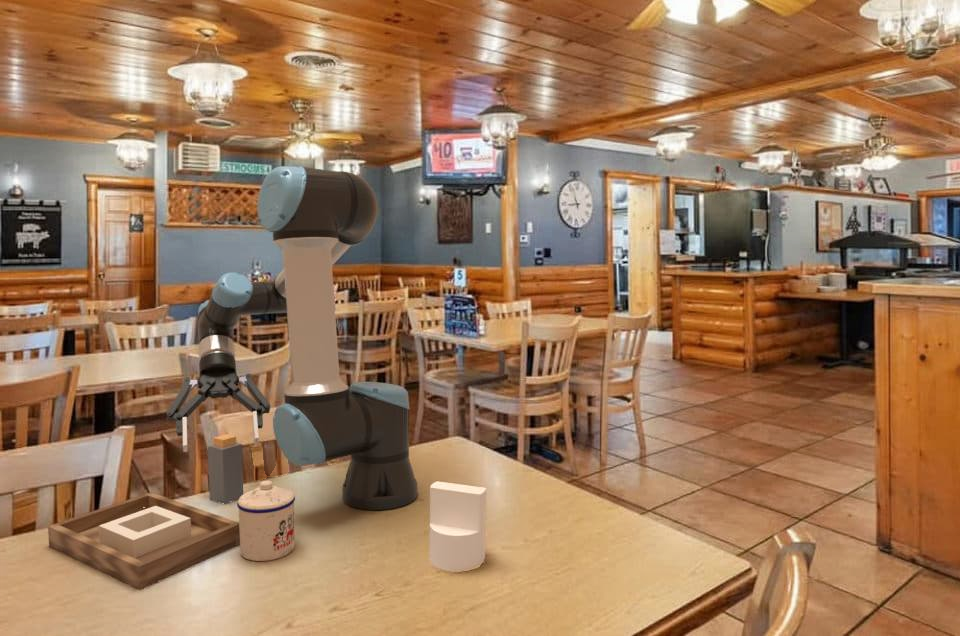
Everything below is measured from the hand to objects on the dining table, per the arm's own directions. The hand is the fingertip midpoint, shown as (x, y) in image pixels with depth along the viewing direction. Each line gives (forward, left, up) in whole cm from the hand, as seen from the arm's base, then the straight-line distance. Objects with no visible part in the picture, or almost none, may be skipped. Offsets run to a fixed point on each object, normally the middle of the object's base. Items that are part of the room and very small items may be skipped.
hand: (221, 445), depth 133 cm
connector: (-4, +2, -10) cm, 11 cm away
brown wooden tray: (-10, +23, -10) cm, 27 cm away
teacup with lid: (-28, +12, -10) cm, 32 cm away
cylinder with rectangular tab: (-57, -1, -10) cm, 58 cm away
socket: (-10, +23, -9) cm, 26 cm away
